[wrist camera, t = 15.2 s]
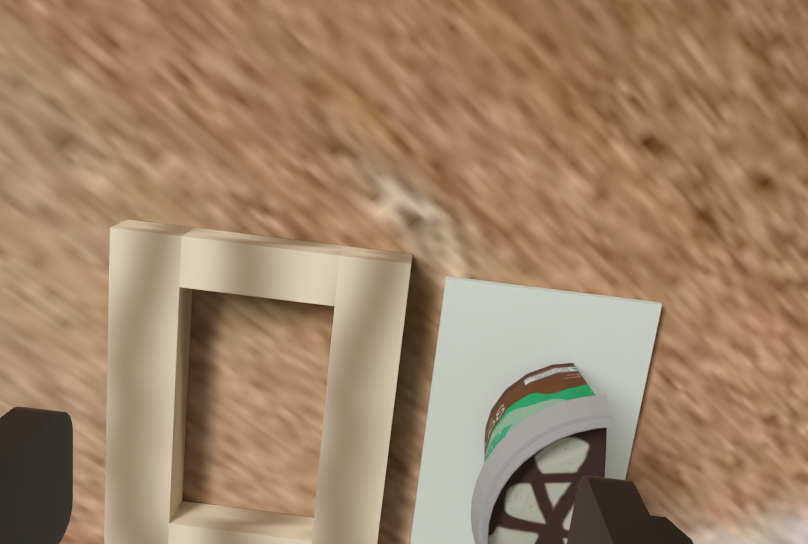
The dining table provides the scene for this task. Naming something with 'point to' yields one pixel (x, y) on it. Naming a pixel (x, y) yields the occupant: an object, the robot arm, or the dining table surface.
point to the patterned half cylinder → (538, 457)
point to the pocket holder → (169, 369)
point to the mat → (508, 362)
